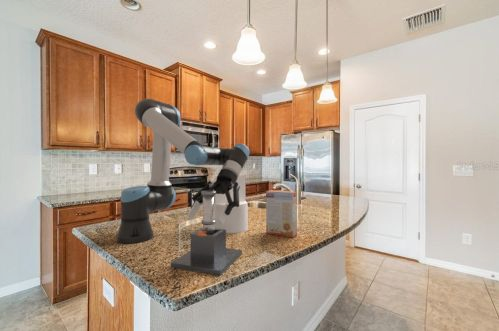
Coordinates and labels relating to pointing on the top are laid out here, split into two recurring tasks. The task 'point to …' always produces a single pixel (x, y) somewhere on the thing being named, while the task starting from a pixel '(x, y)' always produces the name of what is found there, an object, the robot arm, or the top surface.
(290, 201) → the cracker box
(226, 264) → the square socket stand
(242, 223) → the cylinder
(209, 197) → the silver mushroom-headed rod
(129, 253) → the top surface
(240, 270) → the top surface
